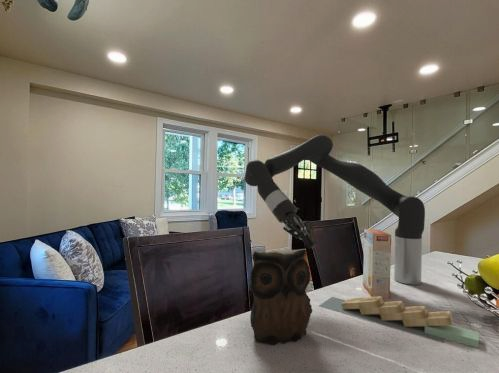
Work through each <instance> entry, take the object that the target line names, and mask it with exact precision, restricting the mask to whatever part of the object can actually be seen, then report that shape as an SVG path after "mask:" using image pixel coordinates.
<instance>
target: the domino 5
mask: <svg viewBox="0 0 499 373" xmlns="http://www.w3.org/2000/svg"><path fill="white" fill-rule="evenodd" d="M425 333H427V334H431V335H434V336H438V337H441V338H444V340H448V341H452V342H456V343H459V344H463V345H467V346H470V347H473V348H477V349H479V348H480V346H479V343H480V342H479V340H480V337H479V331H475V330H471V329H467V328H464V327H460V326H456V325H452V324H451V325H441V326H425Z"/></svg>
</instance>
